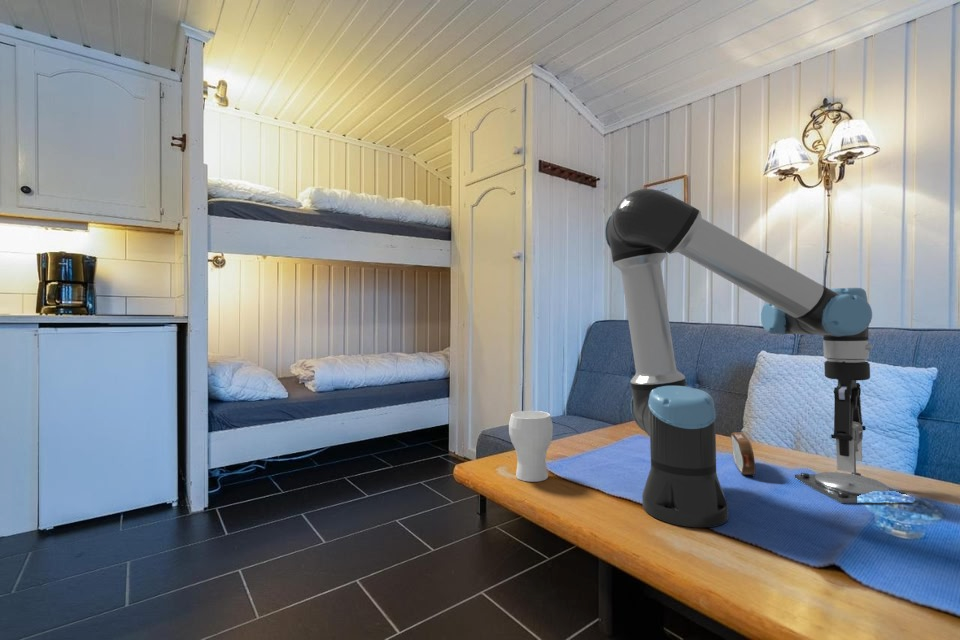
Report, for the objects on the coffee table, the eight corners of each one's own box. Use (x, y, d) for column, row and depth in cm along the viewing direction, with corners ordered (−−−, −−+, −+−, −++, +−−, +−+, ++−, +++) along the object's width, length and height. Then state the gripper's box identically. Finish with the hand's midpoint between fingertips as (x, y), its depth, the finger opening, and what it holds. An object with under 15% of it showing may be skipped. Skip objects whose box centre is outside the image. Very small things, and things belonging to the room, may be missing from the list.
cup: (560, 473, 109) (559, 412, 109) (543, 487, 100) (541, 421, 100) (522, 466, 115) (521, 408, 115) (502, 479, 106) (500, 416, 106)
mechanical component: (865, 467, 97) (864, 421, 97) (854, 479, 90) (852, 429, 90) (848, 464, 99) (846, 419, 99) (836, 475, 93) (834, 427, 93)
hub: (841, 503, 88) (841, 494, 88) (794, 478, 102) (794, 471, 102) (915, 503, 88) (914, 494, 88) (857, 478, 101) (857, 470, 102)
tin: (756, 480, 102) (755, 443, 102) (741, 479, 103) (740, 442, 103) (743, 461, 116) (742, 428, 116) (730, 460, 117) (729, 428, 117)
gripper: (861, 365, 85) (865, 483, 85) (876, 357, 100) (880, 457, 100) (812, 363, 90) (816, 473, 90) (834, 356, 105) (837, 450, 105)
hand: (850, 465), depth 95 cm, fingers closed on mechanical component, 10 cm apart
